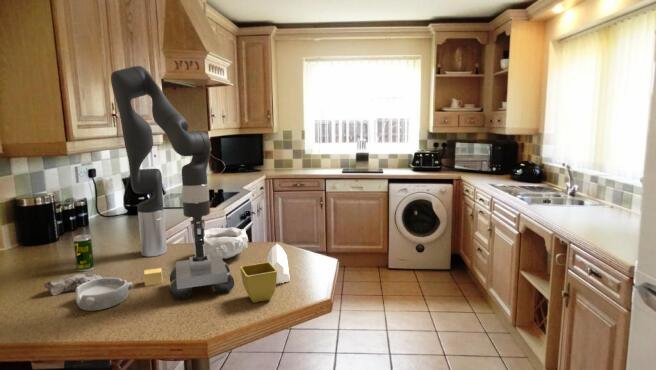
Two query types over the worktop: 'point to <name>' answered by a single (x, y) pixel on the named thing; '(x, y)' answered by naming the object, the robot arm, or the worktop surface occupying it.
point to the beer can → (83, 252)
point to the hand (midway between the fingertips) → (199, 255)
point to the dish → (102, 293)
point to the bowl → (224, 242)
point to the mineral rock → (69, 283)
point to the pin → (195, 251)
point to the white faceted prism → (279, 263)
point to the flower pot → (259, 281)
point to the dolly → (200, 276)
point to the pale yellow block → (153, 277)
